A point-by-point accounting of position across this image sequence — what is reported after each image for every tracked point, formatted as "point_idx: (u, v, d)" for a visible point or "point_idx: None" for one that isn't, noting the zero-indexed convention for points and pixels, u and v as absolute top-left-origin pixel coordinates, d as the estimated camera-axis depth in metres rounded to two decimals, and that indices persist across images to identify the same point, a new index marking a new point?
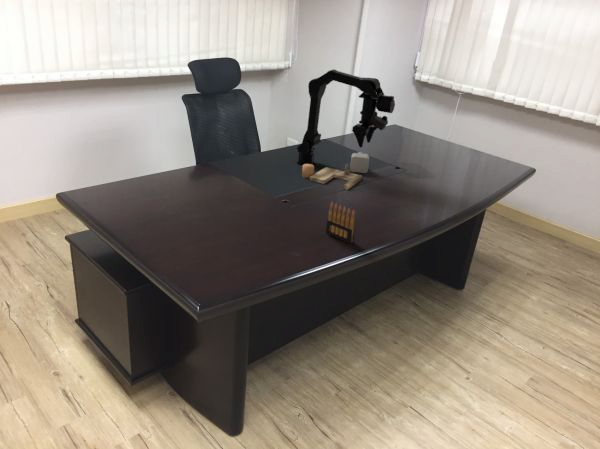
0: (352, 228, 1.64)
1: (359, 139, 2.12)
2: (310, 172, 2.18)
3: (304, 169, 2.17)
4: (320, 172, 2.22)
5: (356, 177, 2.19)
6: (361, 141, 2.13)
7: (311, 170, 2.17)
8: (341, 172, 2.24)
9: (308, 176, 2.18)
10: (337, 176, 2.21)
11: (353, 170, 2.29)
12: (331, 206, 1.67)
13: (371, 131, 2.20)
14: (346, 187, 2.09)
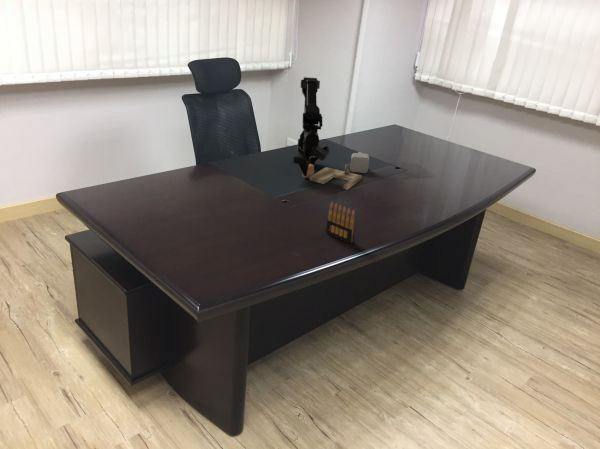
0: (352, 228, 1.64)
1: (303, 168, 2.16)
2: (310, 172, 2.18)
3: None
4: (320, 172, 2.22)
5: (356, 177, 2.19)
6: (305, 170, 2.16)
7: (311, 170, 2.17)
8: (341, 172, 2.24)
9: (308, 176, 2.18)
10: (337, 176, 2.21)
11: (353, 170, 2.29)
12: (331, 206, 1.67)
13: (313, 161, 2.20)
14: (346, 187, 2.09)
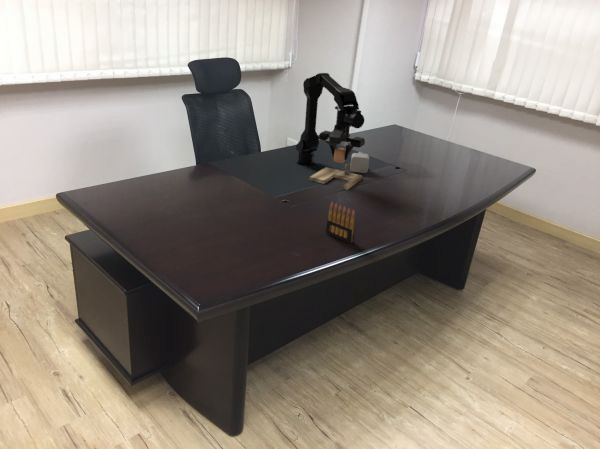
0: (352, 228, 1.64)
1: None
2: (334, 154, 2.09)
3: None
4: (320, 172, 2.22)
5: (356, 177, 2.19)
6: None
7: (335, 153, 2.08)
8: (341, 172, 2.24)
9: (334, 158, 2.10)
10: (337, 176, 2.21)
11: (353, 170, 2.29)
12: (331, 206, 1.67)
13: None
14: (346, 187, 2.09)
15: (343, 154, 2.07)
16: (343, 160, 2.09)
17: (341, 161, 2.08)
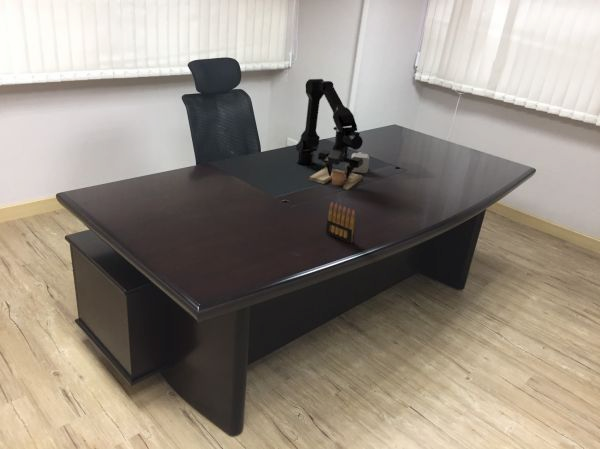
0: (352, 228, 1.64)
1: None
2: (333, 177, 2.13)
3: None
4: (320, 172, 2.22)
5: (356, 177, 2.19)
6: None
7: (334, 176, 2.12)
8: None
9: (332, 181, 2.15)
10: None
11: (353, 170, 2.29)
12: (331, 206, 1.67)
13: None
14: (346, 187, 2.09)
15: (341, 177, 2.12)
16: (341, 183, 2.13)
17: (339, 184, 2.13)
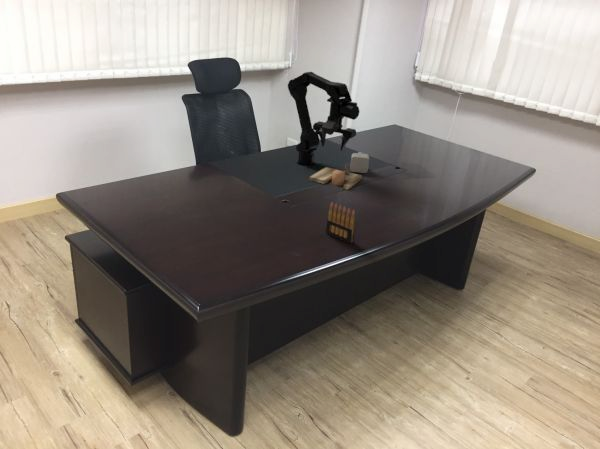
0: (352, 228, 1.64)
1: None
2: (333, 177, 2.13)
3: None
4: (320, 172, 2.22)
5: (356, 177, 2.19)
6: None
7: (334, 176, 2.12)
8: None
9: (332, 181, 2.15)
10: None
11: (353, 170, 2.29)
12: (331, 206, 1.67)
13: None
14: (346, 187, 2.09)
15: (341, 177, 2.12)
16: (341, 183, 2.13)
17: (339, 184, 2.13)
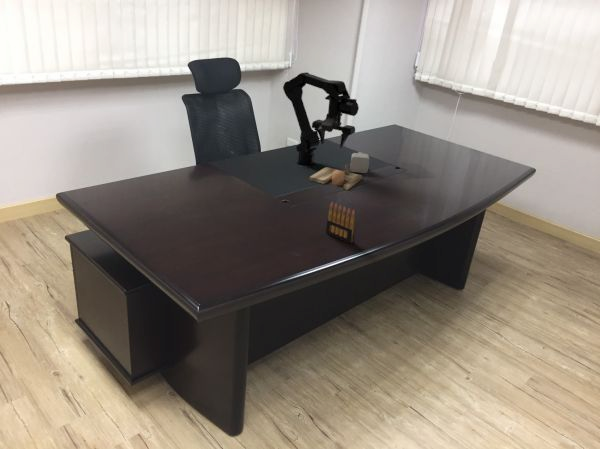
0: (352, 228, 1.64)
1: None
2: (333, 177, 2.13)
3: None
4: (320, 172, 2.22)
5: (356, 177, 2.19)
6: None
7: (334, 176, 2.12)
8: None
9: (332, 181, 2.15)
10: None
11: (353, 170, 2.29)
12: (331, 206, 1.67)
13: None
14: (346, 187, 2.09)
15: (341, 177, 2.12)
16: (341, 183, 2.13)
17: (339, 184, 2.13)
